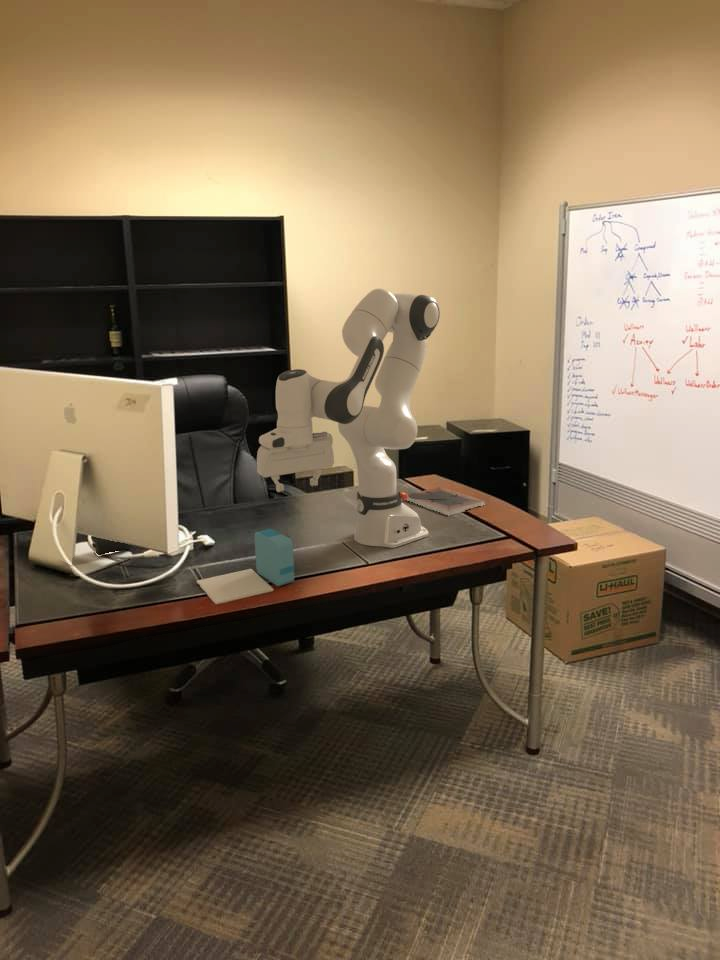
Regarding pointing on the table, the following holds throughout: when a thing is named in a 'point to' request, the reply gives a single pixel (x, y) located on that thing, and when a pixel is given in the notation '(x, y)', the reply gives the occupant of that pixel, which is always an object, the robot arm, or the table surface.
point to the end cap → (108, 546)
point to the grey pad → (234, 586)
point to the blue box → (274, 557)
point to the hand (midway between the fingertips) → (297, 488)
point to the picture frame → (444, 500)
